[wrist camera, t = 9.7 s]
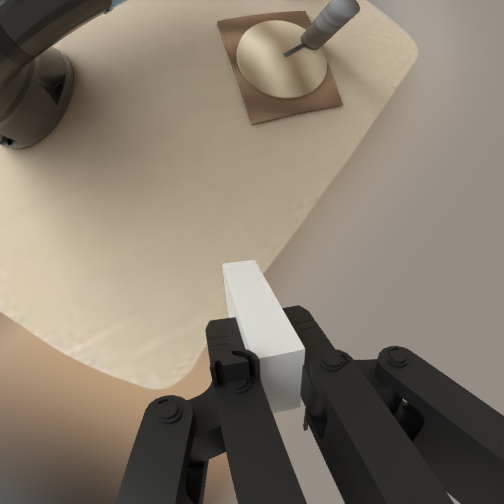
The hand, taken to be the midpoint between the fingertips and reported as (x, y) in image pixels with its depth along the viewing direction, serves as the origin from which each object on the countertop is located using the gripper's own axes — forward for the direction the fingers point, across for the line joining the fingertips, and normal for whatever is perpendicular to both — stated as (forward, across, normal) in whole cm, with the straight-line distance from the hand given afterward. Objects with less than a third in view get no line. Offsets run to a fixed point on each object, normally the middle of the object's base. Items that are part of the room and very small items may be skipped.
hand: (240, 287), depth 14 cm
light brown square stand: (+27, +11, +18) cm, 34 cm away
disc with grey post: (+26, +11, +18) cm, 33 cm away
